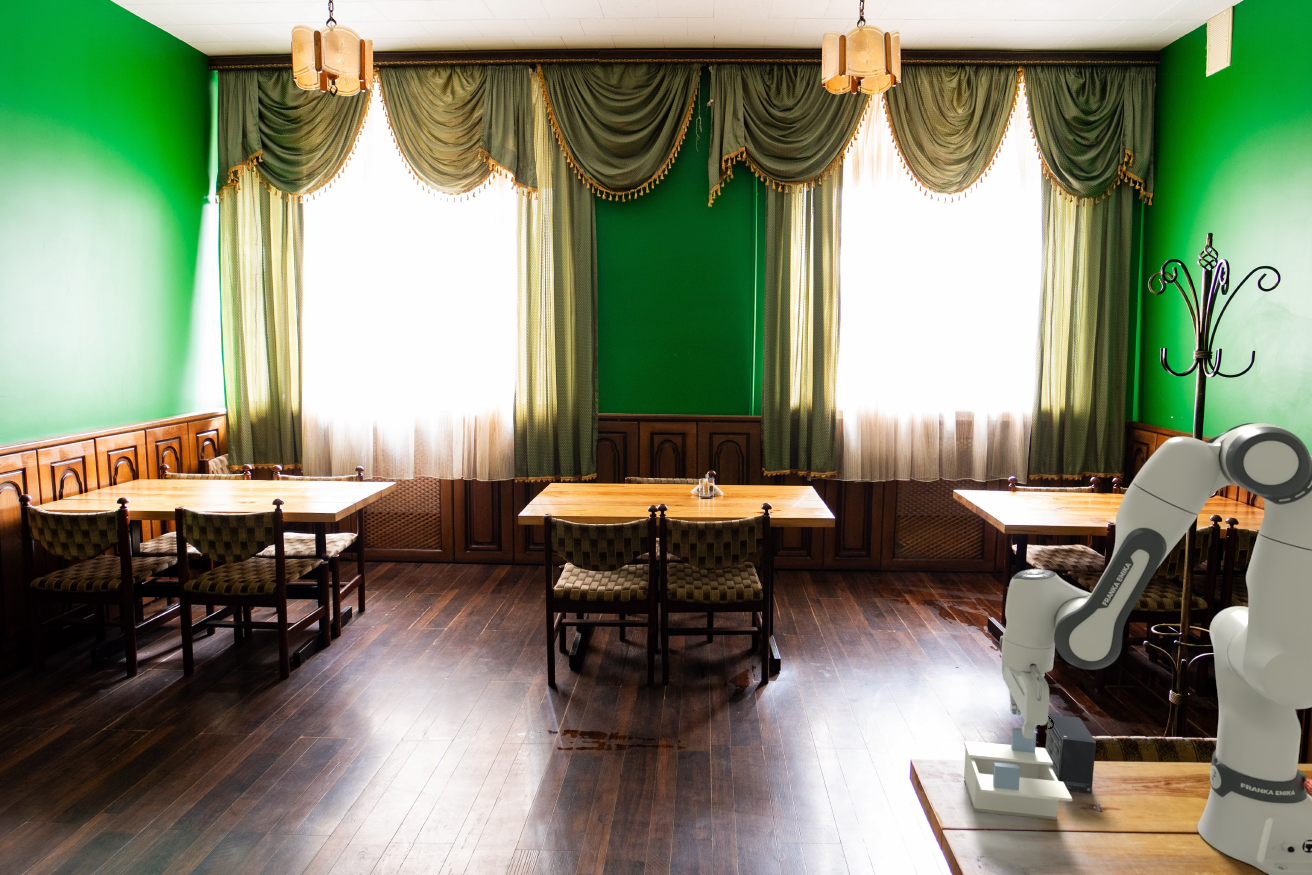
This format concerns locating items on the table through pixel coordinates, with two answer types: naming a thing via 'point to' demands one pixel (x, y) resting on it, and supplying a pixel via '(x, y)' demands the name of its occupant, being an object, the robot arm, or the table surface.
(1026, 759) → the lid panel far
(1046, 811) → the carton
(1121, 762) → the table surface
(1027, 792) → the lid panel near
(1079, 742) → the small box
